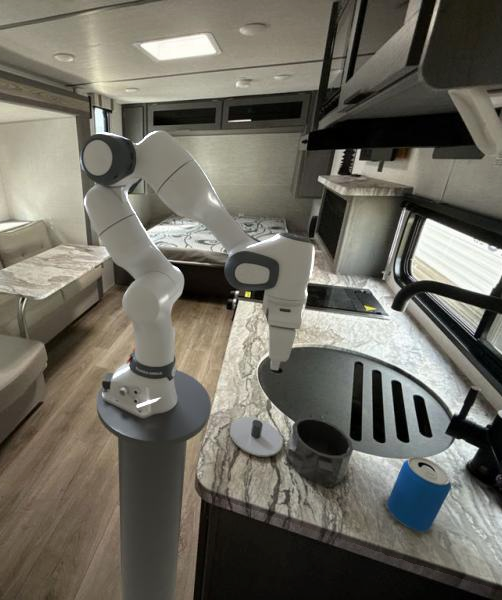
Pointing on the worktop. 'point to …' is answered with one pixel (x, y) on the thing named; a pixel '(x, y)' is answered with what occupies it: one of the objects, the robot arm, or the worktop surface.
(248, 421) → the pot lid
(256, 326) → the worktop surface
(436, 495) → the beverage can
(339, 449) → the pot
